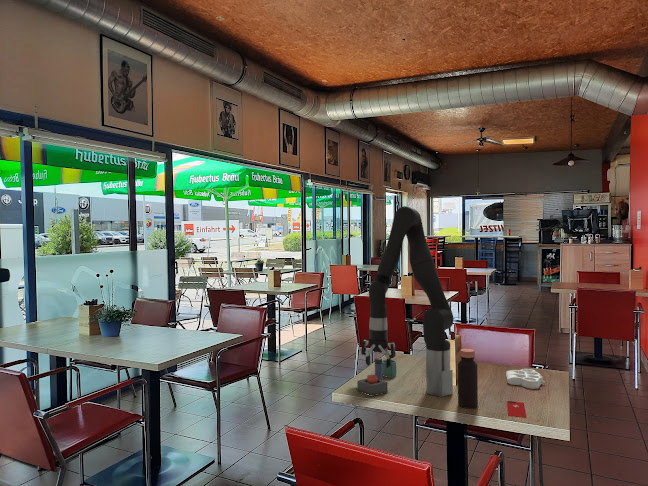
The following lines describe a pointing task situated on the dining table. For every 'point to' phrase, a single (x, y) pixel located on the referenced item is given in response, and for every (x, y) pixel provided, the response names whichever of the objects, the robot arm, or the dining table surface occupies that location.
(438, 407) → the dining table surface
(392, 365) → the pen cup
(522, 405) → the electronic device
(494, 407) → the dining table surface
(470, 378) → the bottle
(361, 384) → the button console
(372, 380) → the button
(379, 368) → the marker
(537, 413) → the dining table surface
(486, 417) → the dining table surface
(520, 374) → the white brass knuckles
